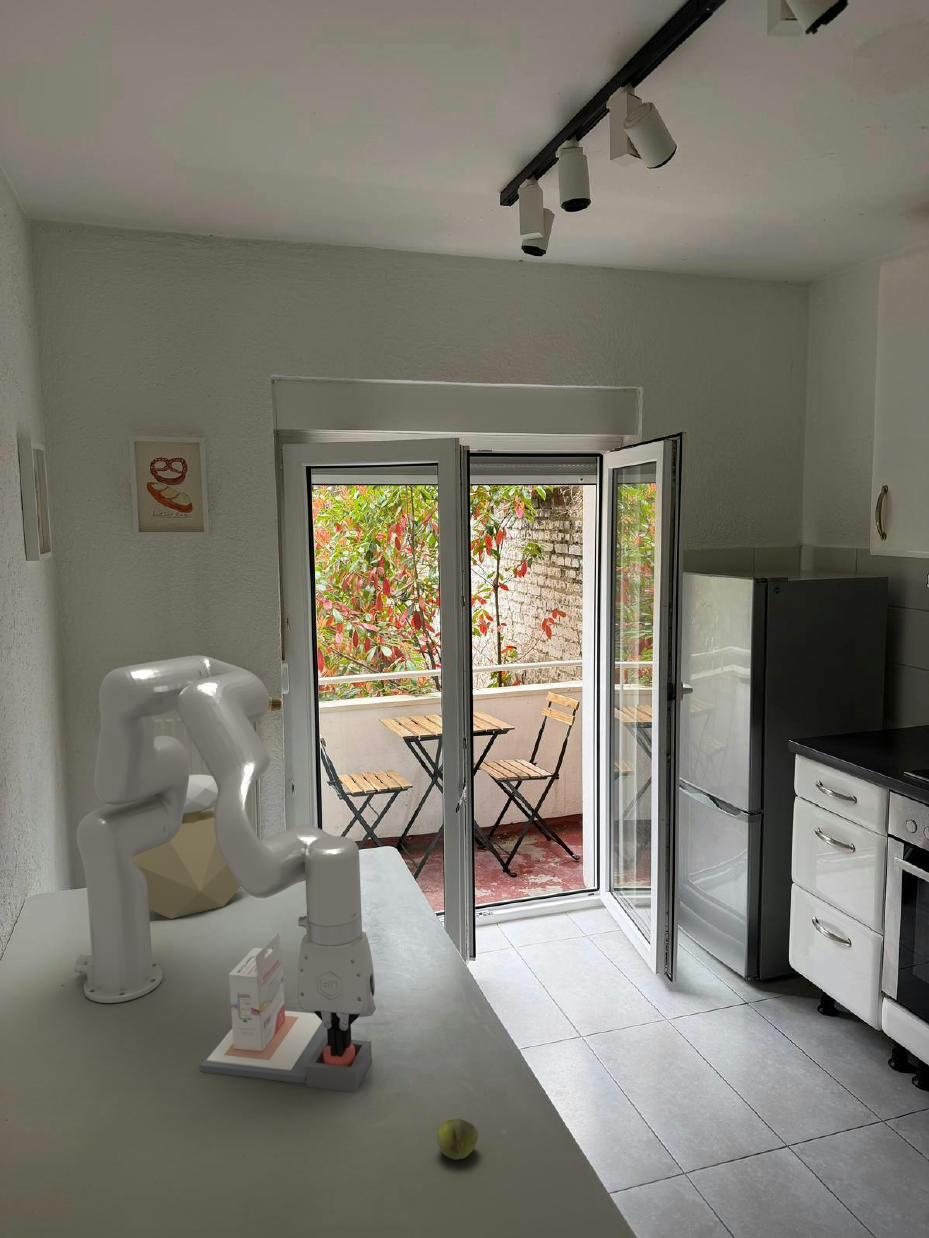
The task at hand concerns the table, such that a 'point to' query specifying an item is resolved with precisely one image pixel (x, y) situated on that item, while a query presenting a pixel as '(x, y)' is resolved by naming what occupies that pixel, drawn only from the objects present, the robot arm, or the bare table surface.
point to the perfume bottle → (189, 860)
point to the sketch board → (272, 1051)
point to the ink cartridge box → (257, 997)
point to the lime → (457, 1138)
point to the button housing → (339, 1068)
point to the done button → (341, 1061)
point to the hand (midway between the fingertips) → (339, 1050)
